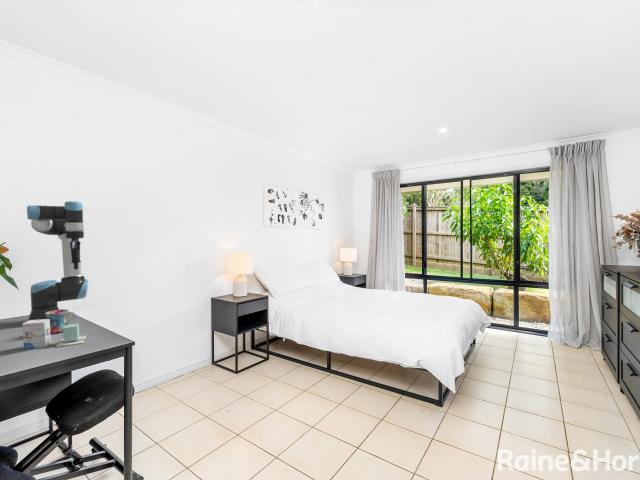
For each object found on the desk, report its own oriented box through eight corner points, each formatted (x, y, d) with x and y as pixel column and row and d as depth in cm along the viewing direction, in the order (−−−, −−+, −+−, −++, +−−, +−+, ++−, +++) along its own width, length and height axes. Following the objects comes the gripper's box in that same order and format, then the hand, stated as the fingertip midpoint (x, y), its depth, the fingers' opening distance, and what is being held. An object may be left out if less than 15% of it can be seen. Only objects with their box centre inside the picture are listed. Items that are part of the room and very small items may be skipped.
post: (61, 339, 153) (60, 325, 153) (86, 335, 158) (86, 322, 158) (55, 347, 143) (54, 332, 142) (83, 343, 148) (82, 328, 147)
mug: (45, 335, 159) (44, 315, 159) (46, 331, 166) (45, 311, 166) (75, 330, 167) (74, 310, 166) (75, 326, 174) (74, 307, 173)
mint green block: (79, 336, 154) (78, 323, 154) (77, 340, 149) (76, 326, 149) (65, 338, 151) (65, 325, 151) (63, 342, 147) (63, 328, 147)
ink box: (22, 349, 141) (21, 323, 141) (29, 345, 146) (28, 320, 146) (45, 347, 144) (44, 321, 143) (51, 343, 149) (50, 318, 148)
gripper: (68, 230, 170) (70, 274, 171) (63, 231, 159) (65, 277, 160) (85, 230, 174) (87, 272, 175) (81, 230, 163) (83, 276, 164)
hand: (76, 275), depth 167 cm, fingers closed
